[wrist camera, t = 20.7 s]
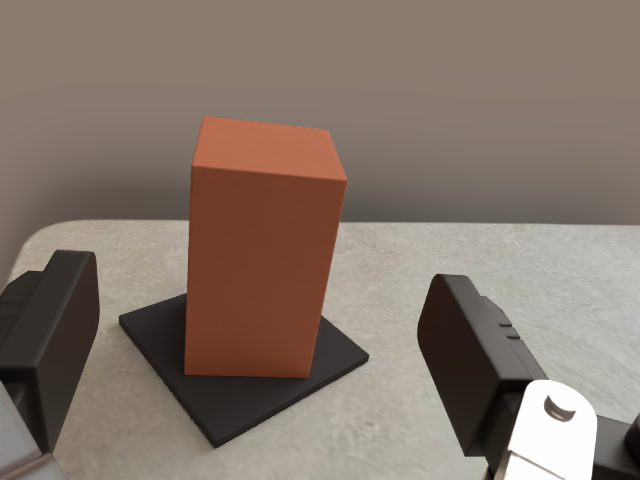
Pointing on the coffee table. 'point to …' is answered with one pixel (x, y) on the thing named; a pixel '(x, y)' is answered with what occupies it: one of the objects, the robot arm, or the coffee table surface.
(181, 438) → the coffee table surface
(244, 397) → the felt mat
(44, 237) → the coffee table surface
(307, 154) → the top block
